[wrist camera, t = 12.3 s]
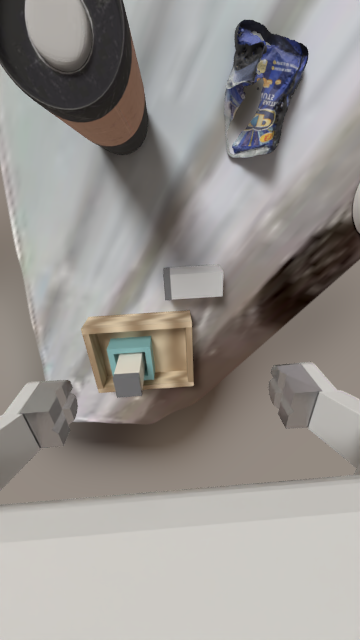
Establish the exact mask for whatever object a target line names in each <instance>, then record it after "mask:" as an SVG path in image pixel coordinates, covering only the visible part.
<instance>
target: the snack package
mask: <svg viewBox="0 0 360 640" xmlns="http://www.w3.org/2000/svg"><path fill="white" fill-rule="evenodd" d="M238 29H239V30H240V31H238ZM252 31H256V32H257V33H261V35H262V37H263V39H264V41H261V39H260V38H259V37H258V36H257V35H253V34H252V33H251V32H252ZM240 32H242V34H241V36H240V37H239V36H238V35H237V34H240ZM265 42H268V43H270V45H271V46H269V45H266V43H265ZM235 48H236V52H235V56H234V64H233V68H232V71H231V74H230V76H229V79H228V82H227V84H226V92H225V108H224V116H225V121H226V129H225V131H226V141H227V152H228V155H230V156H231V157H232V158H234V157H236V158H238V157H239V158H240V157H242V158H244V157H245V158H248V157H253V156H256V155H260V154H261V155H263V154H268V153H271V152H272V151H273V150H275V148H276V147H277V144H278V143H279V139H280V135H281V128H282V123H283V120H284V116H285V113H286V112H287V109H288V105H289V102H290V99H291V96H292V95H293V94H294V91H295V89H296V88H297V86H298V84H299V83H300V81H301V79H302V74H303V71H304V68H305V66H306V64H307V60H308V49H307V47H305V46H304V45H303V44H302V43H298V42H296V41H295V40H289V38H286V37H283V36H280V35H277V34H276V35H274V34H271V33H270V32H269V31H268V30H267V28H266V27H265V26H264V25H261V24H260V23H258V22H255V21H254V20H243V21H242V22H240V23H239V24H238V26H237V28H236V31H235ZM257 69H258V70H259V72H261V75H258V74H257V73H256V71H257ZM261 78H263V81H264V85H263V88H262V92H261V100H260V104H259V107H258V110H257V112H256V115H255V116H254V118H253V119H252V121H251V122H250V123H249V124H248V126H247V128H246V129H245V130H243V131H242V132H241V134H240V135H239V137H238V139H237V140H236V141H235V142H234V144H233V145H232V148H233V149H234V152H235V154H234V155H232V154H231V153H230V151H229V144H228V139H227V131H228V127H229V125H230V121H231V120H232V119H233V118H234V116H235V113H236V111H237V109H238V108H239V106H240V104H241V102H242V101H243V100H244V99H245V92H243V86H245V85H246V86H248V85H251V84H252V85H253V84H254V83H255V82H257V81H258V80H259V79H261ZM246 88H247V87H246ZM257 90H259V88H257Z"/></svg>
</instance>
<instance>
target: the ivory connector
mask: <svg viewBox="0 0 360 640" xmlns="http://www.w3.org/2000/svg"><path fill="white" fill-rule="evenodd" d="M145 365H146V358H145V352H136V353H121V354H119V358H118V361H117V365H116V368H115V372H114V375H113V382H114V387H115V391H116V395H117V397H131V396H142V390H143V382H144V373H145Z"/></svg>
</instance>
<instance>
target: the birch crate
mask: <svg viewBox="0 0 360 640" xmlns="http://www.w3.org/2000/svg"><path fill="white" fill-rule="evenodd" d="M81 331H82V335H83V338H84V342H85V345H86V349H87V352H88V356H89V359H90V363H91V366H92V370H93V373H94V377H95V380H96V384H97V387H98V391H99V393H105V392H116V391H115V387H114V382H113V375H112V370H111V366H110V362H109V358H108V353H107V347H108V345H109V342H110V339H113V338H127V337H142V336H151V339H152V347H153V355H154V363H155V376H154V380H144V382H143V390H145V389H159V388H173V387H186V386H194V381H193V346H192V320H191V315H190V310H187V311H172V312H157V313H142V314H127V315H112V316H97V317H88V319H87V320H86V322H85V324H84V325H83V327H82V328H81ZM145 358H146V356H145ZM146 364H147V363H146Z"/></svg>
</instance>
